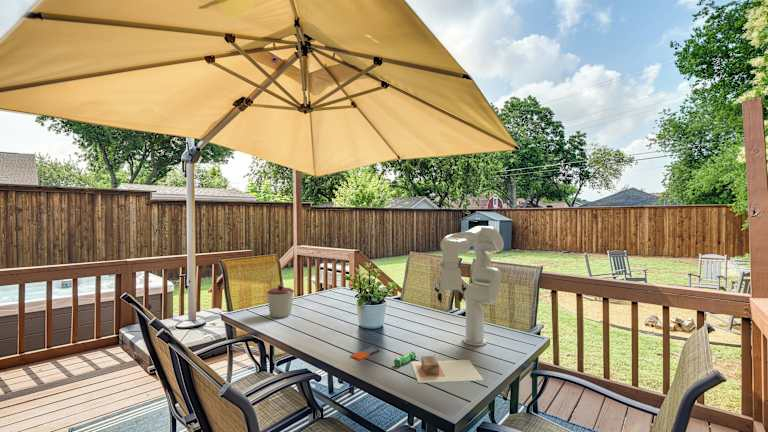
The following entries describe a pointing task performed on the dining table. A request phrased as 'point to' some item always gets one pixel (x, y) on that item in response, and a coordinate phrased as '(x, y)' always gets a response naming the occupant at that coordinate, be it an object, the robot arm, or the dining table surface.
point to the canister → (280, 301)
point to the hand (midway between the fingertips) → (450, 301)
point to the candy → (404, 359)
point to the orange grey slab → (364, 353)
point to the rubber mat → (448, 372)
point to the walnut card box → (429, 365)
